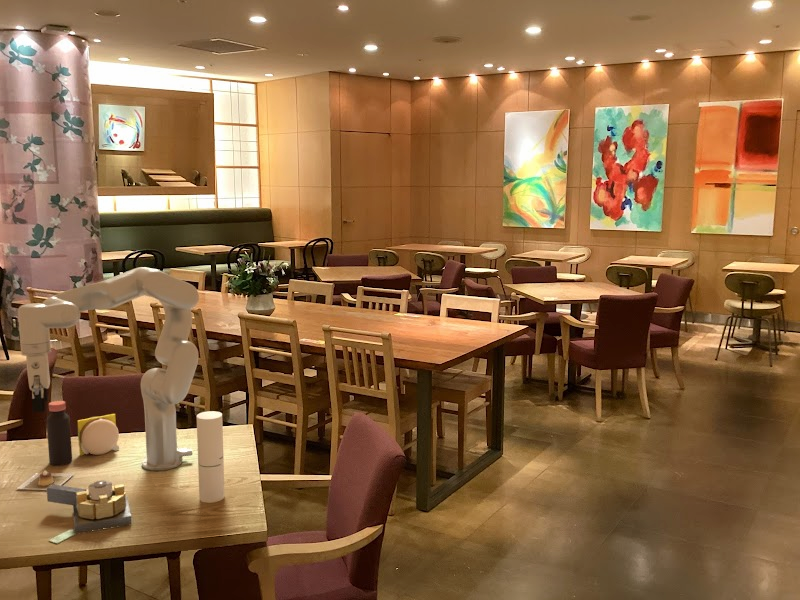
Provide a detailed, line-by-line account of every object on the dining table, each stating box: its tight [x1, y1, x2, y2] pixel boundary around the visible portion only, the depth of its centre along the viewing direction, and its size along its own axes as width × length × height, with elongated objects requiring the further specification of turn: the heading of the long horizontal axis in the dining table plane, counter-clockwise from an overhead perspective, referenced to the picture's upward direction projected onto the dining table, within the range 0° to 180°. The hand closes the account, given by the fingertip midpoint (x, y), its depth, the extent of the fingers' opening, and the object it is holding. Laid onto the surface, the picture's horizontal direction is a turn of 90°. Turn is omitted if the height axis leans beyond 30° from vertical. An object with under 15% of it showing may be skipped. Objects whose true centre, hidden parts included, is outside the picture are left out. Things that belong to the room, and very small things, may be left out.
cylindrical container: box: [196, 410, 226, 504], centre depth 216 cm, size 7×7×25 cm
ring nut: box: [46, 483, 126, 519], centre depth 205 cm, size 22×12×6 cm, turn 74°
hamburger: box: [77, 413, 120, 456], centre depth 251 cm, size 12×8×12 cm
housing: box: [48, 480, 132, 545], centre depth 201 cm, size 20×18×10 cm
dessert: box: [15, 469, 75, 491], centre depth 227 cm, size 12×12×5 cm
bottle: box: [46, 400, 73, 466], centre depth 242 cm, size 7×7×20 cm
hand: (40, 406), depth 212 cm, fingers open, 9 cm apart
